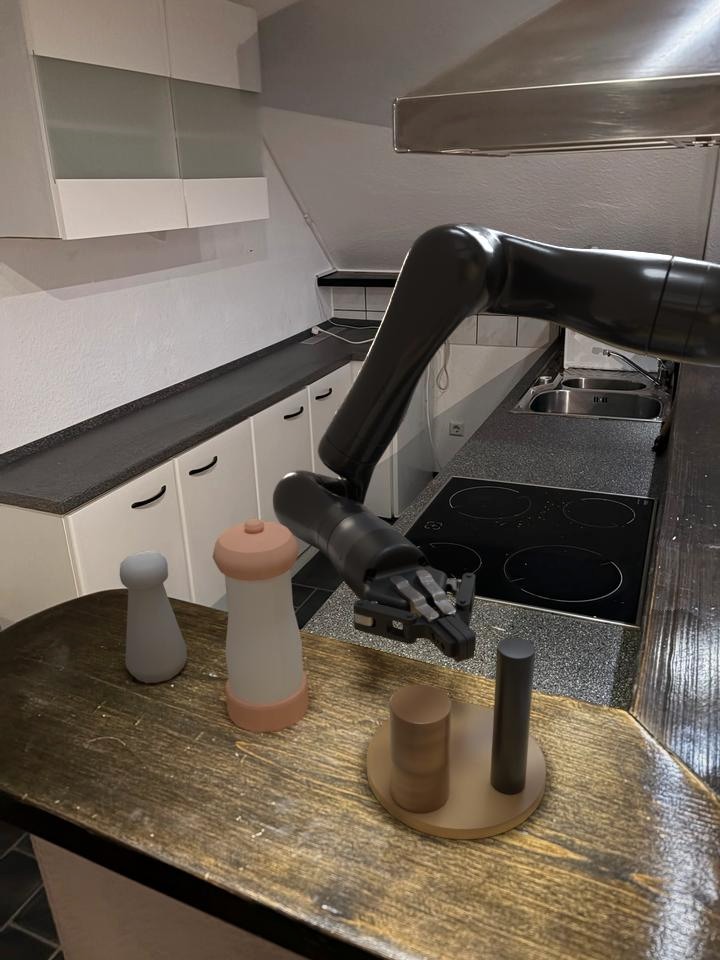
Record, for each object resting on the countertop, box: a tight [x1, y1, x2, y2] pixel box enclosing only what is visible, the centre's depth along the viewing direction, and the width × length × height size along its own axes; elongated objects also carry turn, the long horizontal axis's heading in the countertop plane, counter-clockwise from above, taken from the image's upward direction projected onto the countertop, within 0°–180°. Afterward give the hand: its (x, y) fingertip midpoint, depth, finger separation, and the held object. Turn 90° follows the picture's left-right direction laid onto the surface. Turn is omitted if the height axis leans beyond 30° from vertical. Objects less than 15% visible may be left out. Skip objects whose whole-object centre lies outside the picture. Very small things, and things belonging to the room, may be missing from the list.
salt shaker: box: [119, 550, 188, 684], centre depth 72 cm, size 6×6×13 cm
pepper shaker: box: [212, 518, 310, 733], centre depth 65 cm, size 7×7×19 cm
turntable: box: [366, 636, 547, 840], centre depth 58 cm, size 14×14×13 cm
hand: (467, 650), depth 62 cm, fingers closed
